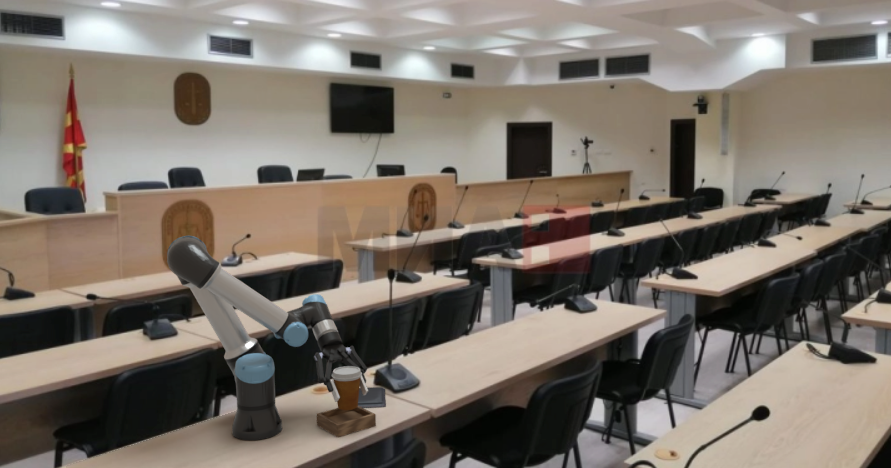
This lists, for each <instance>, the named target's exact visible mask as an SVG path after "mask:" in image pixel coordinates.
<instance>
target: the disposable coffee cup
mask: <svg viewBox="0 0 891 468" xmlns="http://www.w3.org/2000/svg"><path fill="white" fill-rule="evenodd" d="M332 370H333V371H332V372H331V377H332V379H333V381H334V384H335V386H336V389H337V391H338V394H339V396H340V398H339V400H338V402H336V403H337V408H339V409H341V410H352V409H355V408H357V407H358V398H359V388H360V377H361V375H362V372H361V371H360V368H358V367H354V366H347V365H345V366H339V367H336V368H334V369H332Z"/></svg>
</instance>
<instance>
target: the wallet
mask: <svg viewBox="0 0 891 468" xmlns="http://www.w3.org/2000/svg"><path fill="white" fill-rule="evenodd" d="M367 389H368V392H367V393H366V395H363V393H362V391H361V388H360V387H359V398H358V406H360V407H362V408H364V409H374V408H375V409H376V408H377V409H379V408H386V407H387V400H386V388H385V387H382V386H377V387H375V386H374V387H367Z"/></svg>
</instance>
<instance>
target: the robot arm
mask: <svg viewBox="0 0 891 468" xmlns="http://www.w3.org/2000/svg"><path fill="white" fill-rule="evenodd" d="M207 249H208V248H207V245H206V244H205V243H204V241H202V240H201V239H199V238H198V237H196V236H193V235H185V236H181V237H178V238H176V239H175V240H173V241H172V242H171V244H170V245H169V246H168V249H167V253H166V256H167V259H166V260H167V261H166V263H167V266H168V268H169V270H170V271H171V273H173V274H174V275H175V276H176V277H177V279H178V280H179V281H180V284H181V285H182V286H183V287H187V288H189V289H190V291H191V292H192V294H193V296H194V298H195V299H196V302H197V303H198V305H199V306H200V308H201V311H202V312H203V313H204V315H205V316H206V319H207V321H208V322H209V324H210V326H211V328H212V329H213V331H214V333H215V335H216V336H217V338H218V340H219V341H220V343H221V345H222V347H223V348H224V350H225V353H224V355H223V357H224V360H225V362H226V364H227V365H228V367H229V369H230V370H231V372H232V375H233V376H234V381H235V389H236V390H235V391H236V392H235V393H236V412H235V416H234V420H233V422H232V426H231V428H232V430H231V432H232V433H231V434H232V436H233V437H234V438H236V439H238V440H243V441H259V440H264V439H267V438H272V437H274V436H276V435H278V434H279V433H281V432H282V430H283V421H282V418H281V415H280V413H279V410H278V408H277V404H276V385H275V384H276V383H275V382H276V381H275V370H276V368H275V362H274V359H273V358H272V356H270V355H268V354H266V352H265V351H264V349H263V348H262V347H261V344H260V343H259V341H258V339H257V338H255V337H251V336H250V335H249V333H248V331H247V330H246V327H245V326H244V324H243V323H242V320H241V319H240V317H239V315H238V313H237V312H236V310H235V309H237V311H240V312H241V313H243V314H245V315H246V316H247V317H249V318H251V319H252V320H253V321H255V322H257V323H258V324H259V325H262V326H263V327H265V328H266V329H267V330H269V331H271V332H272V333H273V335H274V337H275V338H276V339H277V340H279V339H282V340H284V342H285V343H286V344H287V345H289V346H291V347H293V348H296V347H297V348H299V347H301V346H303V345H304V344H306V342H307V340H308V338H309V330H308V329H309V328H311V331H312V332H313V335H314V337H315V340H316V341H317V343H316V344H317V345H318V348H319V350H320V352H315V354H314V356H313V359H314V362H315V365H316V366H315V367H316V374H317V382H318V384H323V385H324V386H326V390H327V392H328V393H331V394H332V395H331V396H332V397H333V400H334V402H335V403H337V402H338V400H339V398H340V396H339V394H338V391H337V389H336V386H335V384H334V380H333V378H332V379H331V376H332V367H333V364H335V363H342V364H344V365H345V366H354V367H358V368H360V371H361V372H362V375H361V377H360V387H359V388H361V391H362V393H363V395H366V393H367V392H368V389H367V388H368V387H367V385H366V383H367V379H366V377H365V373H366V372H367V370H368V366H367V365H366V364H365V362H363V360H362V359H361V357H360V356H359V355H358V353H357V352H356V350H355V346H354V345H350V347H348V346H347V347H346V346H344V344H343V341H342V338H341V335H340V333H339V330H338V327H337V326H336V324H335V322H334V320H333V317H332V314H331V311H330V309H329V306H328V303H327V302H326V300H325V298H324V297H323V296H322V295H321V294H319V293H318V294H311V295H308V297H305V298H304V299H303V300H302V303H301V304H302V305H301V306H299V307H297V308H294V309H291V310H288V311H286V310H284V309H283V308H282V307H280V306H278V305H276V304H275V303H274V302H272V301H271V300H270V299H268V298H266V297H265V296H263V295H262V294H260V293H259V292H257V291H256V290H255V289H253V288H251V287H250V286H249V285H247V284H246V283H244V282H243V281H242V280H240V279H238V278H236V277H235V276H234V275H232V274H231V273H229V272H228V271H227V270H225V269H224V268H222V265H221V264H222V263H221V262H219V260H218V261H217V259H215V258H214V257H212V255H210V253H209V252H208V250H207ZM349 356H350V357H349ZM323 359H325V361H326V367H325V374H324V367H323V366H324V365H323Z"/></svg>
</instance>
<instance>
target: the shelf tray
mask: <svg viewBox="0 0 891 468" xmlns="http://www.w3.org/2000/svg"><path fill="white" fill-rule="evenodd" d="M376 418H377V415H376V413H374V412H372V411H369V410H368V409H367V408H362V407H360V406H358V407H357V408H355V409H352V410H341V409H339V408H338V407H336V408H332V409H329V410H326V411H325V410H324V411H321V412H319V413H316V426H318V427H319V428H321V429H323V430H325V431H326V432H329V434H332V435H333V436H336V437H337V438H339V437H340V438H341V437H344V436H346V435H349V434H353V433H356V432H359V431H362V430H367V429H369V428H372V427H376V425H377V423H376V422H377V421H376V420H377V419H376Z"/></svg>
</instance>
